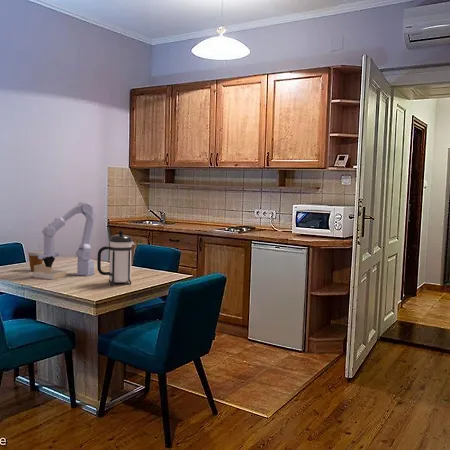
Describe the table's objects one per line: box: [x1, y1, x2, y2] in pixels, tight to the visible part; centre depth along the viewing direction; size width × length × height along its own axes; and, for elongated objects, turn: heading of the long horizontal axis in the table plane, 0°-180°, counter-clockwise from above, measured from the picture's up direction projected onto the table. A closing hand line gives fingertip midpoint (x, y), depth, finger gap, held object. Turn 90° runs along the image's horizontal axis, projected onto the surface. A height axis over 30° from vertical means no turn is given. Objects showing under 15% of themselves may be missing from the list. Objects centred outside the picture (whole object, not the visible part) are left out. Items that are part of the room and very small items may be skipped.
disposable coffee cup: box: [27, 250, 44, 272], centre depth 303 cm, size 10×10×12 cm
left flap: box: [36, 266, 53, 273], centre depth 281 cm, size 10×4×1 cm
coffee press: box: [96, 230, 136, 286], centre depth 273 cm, size 17×16×30 cm
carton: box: [32, 269, 67, 281], centre depth 286 cm, size 14×12×3 cm
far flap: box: [33, 262, 46, 272], centre depth 288 cm, size 4×11×1 cm
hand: (48, 269), depth 285 cm, fingers closed
